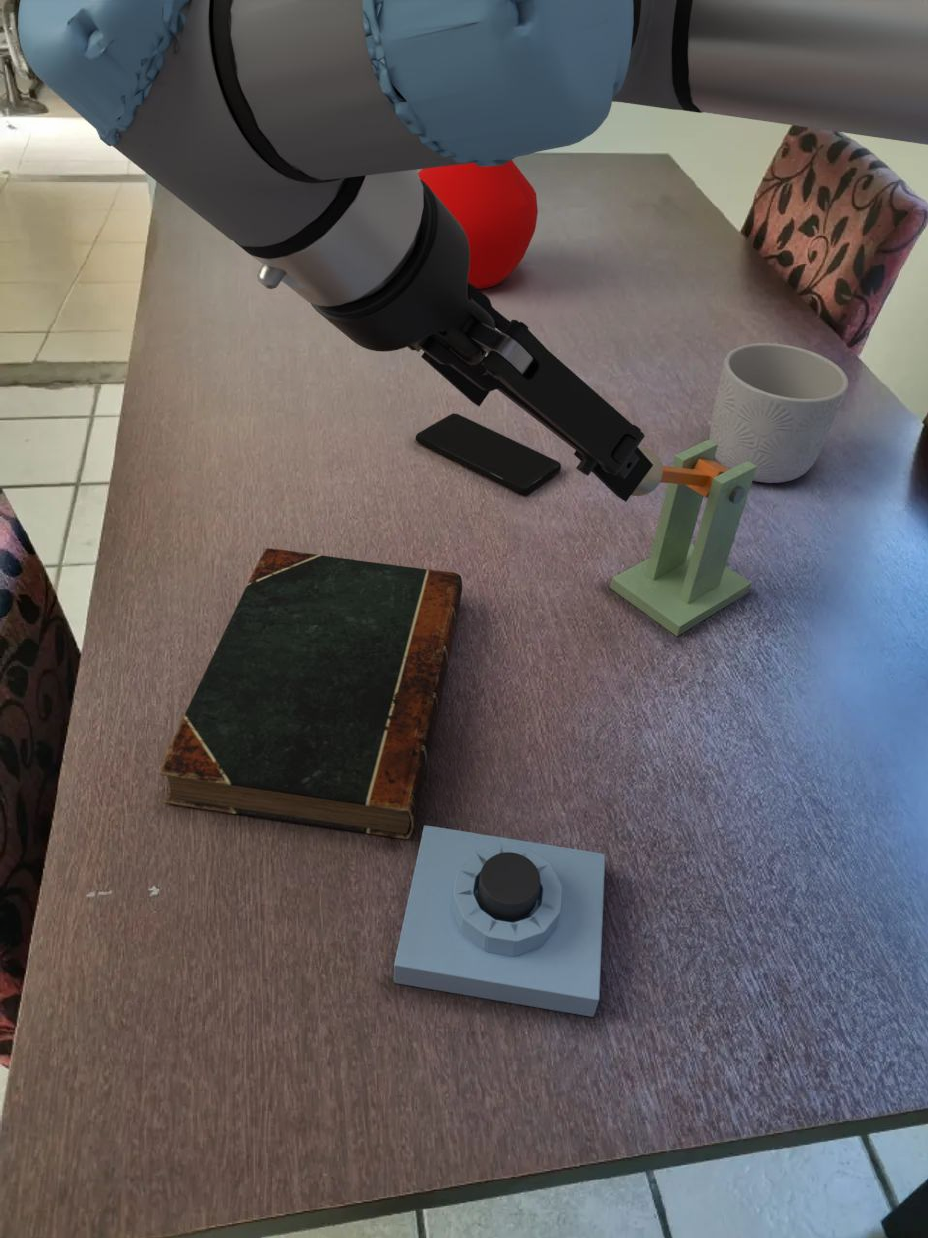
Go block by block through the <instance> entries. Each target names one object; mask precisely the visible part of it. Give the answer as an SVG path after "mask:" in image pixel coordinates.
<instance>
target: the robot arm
mask: <svg viewBox="0 0 928 1238" xmlns="http://www.w3.org/2000/svg"><path fill="white" fill-rule="evenodd" d="M17 30H18V31H17V32H18V39H19V45H20V48H21V51H22V53H23V56H24V58H25V60H26V62H27V64H28V66H29V67H30V69H31V70H32V72H33V73H34V75H35V76H37V78H39V80H40V81H42V82H43V83H44V85H46V86H47V87H48V88H49V89H50V90H51V91H52V92H54V93H55V94H56V95H57V96H58V97H59V98H60V99H61V100H63V101H64V102H65V103H66V104H67V105H68V106H69V107H71V109H73V111H75V112H76V113H77V114H78V115H79V116H80V117H81V118H82V119H84V121H86V122H87V123H88V124H89V125H91V127H93V128H94V129H95V130H96V132H97V134H98V137H99V139H100V140H101V141H102V142H103V143H104V144H105V145H106V146H109V147H112V148H114V149H116V150H117V151H118V152H119V153H120V154H122V156H124V157H125V158H127V159H128V160H129V161H130V162H132V163H133V164H134V165H136V166H137V168H140V169H141V170H142V171H143V172H144V173H145V174H147V175H148V176H149V177H151V178H152V179H153V180H154V181H156V182H157V183H158V184H159V185H160V186H162V187H163V188H164V189H166V191H168V192H169V193H171V195H173V196H174V197H176V198H177V199H178V200H179V201H181V202H182V203H183V204H184V205H186V206H187V207H188V208H190V209H191V210H192V211H193V212H194V213H196V214H197V215H199V216H200V217H201V218H202V219H203V220H205V221H206V222H207V223H209V224H210V225H211V226H213V227H214V228H215V229H216V230H217V231H219V232H220V233H221V234H222V235H224V236H225V237H226V238H227V239H228V240H230V241H233V242H234V243H235V244H236V245H237V246H238V247H240V248H241V249H242V250H243V251H245V252H246V253H247V254H248V255H250V256H251V257H252V258H253V259H254V260H255V261H257V262H259V263H261V264H262V266H261V267H260V268H259V270H258V272H257V274H256V277H257V281H258V282H259V283H260V284H261V285H263V286H264V287H265V288H266V289H268V290H274V289H276V288H277V287H278V286H279V285H280V283H281V282H282V283H284V284H285V285H286V286H287V287H288V288H290V289H291V290H292V291H293V292H295V293H296V294H297V295H299V296H300V297H301V298H302V299H303V300H304V301H306V302H308V303H310V305H311V307H312V308H313V309H314V310H315V311H316V312H317V313H318V314H319V315H321V316H322V317H323V318H324V319H325V320H327V321H328V322H329V323H330V324H332V325H333V326H334V327H335V328H336V329H338V330H339V331H340V332H342V334H343V335H345V336H346V337H347V338H348V339H350V340H351V341H352V342H353V343H354V344H356V345H358V346H360V347H361V348H364V349H365V350H369V351H374V352H380V353H381V352H382V353H383V352H385V353H386V352H393V351H399V350H403V349H405V348H408V349H409V350H410V351H416V353H417V352H418V353H420V351H423V353H422V354H421V356H420V357H421V358H422V359H423V360H424V361H425V362H426V363H427V364H429V366H430V367H432V368H433V369H434V370H435V371H436V372H437V373H439V374H440V375H441V376H442V377H443V378H444V379H445V380H447V381H448V382H449V383H450V384H451V385H452V386H453V387H454V388H456V389H457V390H458V391H459V392H460V393H461V394H462V395H464V396H465V397H466V398H467V399H468V400H469V401H470V403H473V404H474V405H475V406H477V407H480V406H481V405H482V404H483V403H484V401H485V400H486V398H487V397H488V396H489V394H490V392H493V391H495V390H497V391H499V392H500V393H501V394H502V395H504V396H505V397H506V398H507V399H509V400H510V401H511V402H513V403H514V404H515V405H517V406H518V407H519V408H520V409H522V410H523V411H524V412H525V413H527V414H528V415H530V416H531V417H532V418H533V419H535V421H537V422H539V424H541V425H542V426H544V427H545V428H546V429H548V430H549V431H550V432H551V433H553V434H554V435H555V436H556V437H558V438H559V439H560V440H562V441H563V442H565V443H566V444H567V445H568V446H570V448H572V449H573V450H575V452H574V453H573V455H574V456H575V458H577V460H579V461H580V462H579V463H578V465H577V466H576V467H575V469H576V470H578V471H579V472H580V473H581V474H583V475H585V476H587V477H589V475H590V474H591V473H592V474H593V475H595V477H596V478H597V479H598V480H599V481H601V483H603V484H604V485H605V486H606V487H607V488H608V489H609V490H610V491H611V492H612V494H614V495H615V496H616V497H618V498H619V499H621V500H622V501H624V503H626V502H627V501H628V500H629V499H630V498H631V496H632V493H633V492H634V491H635V489H636V488H637V487H638V485H639V484H640V482H641V481H642V480H643V478H644V477H645V476H646V474H647V473H648V472H649V470H650V469H651V468H652V466H653V464H652V463H651V462H650V461H649V459H648V458H647V457H646V456H645V455H644V454H643V453H642V451H641V450H640V449H639V448H638V447H639V445H640V444H641V442H642V441H643V440H644V439H645V437H646V435H645V433H644V432H642V429H641V428H640V427H639V426H637V425H636V424H633V423H632V422H630V421H629V420H628V419H627V418H626V417H625V416H623V415H622V414H621V413H620V411H618V410H617V409H615V408H614V407H613V406H612V405H611V404H610V403H609V402H607V400H605V399H604V398H603V397H602V395H599V393H598V392H596V391H595V389H593V388H592V387H590V386H589V384H587V383H586V382H585V381H584V380H583V379H582V378H580V376H578V375H577V374H576V373H575V372H573V371H572V370H571V369H570V368H569V367H568V366H567V365H565V363H564V362H563V361H561V360H560V359H559V358H558V357H556V356H555V355H554V354H553V353H552V352H551V351H550V350H549V349H548V348H547V347H546V346H545V345H544V344H543V343H542V342H541V341H540V340H539V339H538V338H537V337H536V336H535V334H533V333H532V332H531V330H530V329H529V326H528V325H527V324H526V323H525V322H523V321H519V320H517V319H511V320H509V319H508V318H506V317H505V316H504V315H503V314H501V313H500V312H499V311H498V310H497V309H495V308H494V307H493V305H492V302H491V299H490V298H489V297H488V296H487V295H486V294H484V293H483V292H482V291H481V289H477V288H476V287H474V286H473V285H472V284H470V283H469V282H468V274H469V267H470V248H469V243H468V239H467V236H466V233H465V231H464V229H463V227H462V226H461V224H460V223H459V222H458V221H457V219H456V218H455V217H454V216H453V215H452V213H451V212H450V211H449V210H448V209H447V208H446V206H445V205H444V204H443V203H442V202H441V200H440V199H439V198H438V197H437V196H436V195H435V193H434V192H433V191H432V190H431V189H430V187H429V186H428V185H427V184H426V183H425V182H424V181H423V180H422V179H420V178H419V176H418V173H419V172H418V170H422V169H426V168H434V167H443V166H452V165H460V164H469V163H475V164H476V165H477V166H479V167H488V166H498V165H505V164H506V163H507V162H508V161H510V160H512V161H513V160H514V159H516V158H518V157H523V156H528V155H532V154H535V153H538V152H539V153H540V152H543V151H548V150H549V151H550V150H554V149H559V148H564V147H565V148H566V147H570V146H572V145H575V144H578V143H580V142H582V141H583V140H584V139H586V138H588V137H590V136H592V135H593V134H594V133H596V131H597V130H598V129H599V128H600V127H601V126H602V125H603V124H604V122H605V121H606V119H607V118H608V116H609V114H610V112H611V109H612V105H613V104H612V103H622V104H623V103H624V104H630V105H638V106H646V107H651V108H659V109H666V110H673V111H674V110H675V111H683V112H691V113H698V114H702V113H703V114H704V113H705V114H713V115H720V116H727V117H734V118H740V119H748V120H755V121H762V122H768V123H775V124H781V125H788V126H795V127H802V128H808V129H809V128H810V129H816V130H823V131H829V132H830V131H831V132H836V133H843V134H851V135H858V136H865V137H872V138H877V139H885V140H893V141H897V142H906V143H913V144H919V145H927V146H928V0H20V1H19V7H18V17H17Z"/></svg>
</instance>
